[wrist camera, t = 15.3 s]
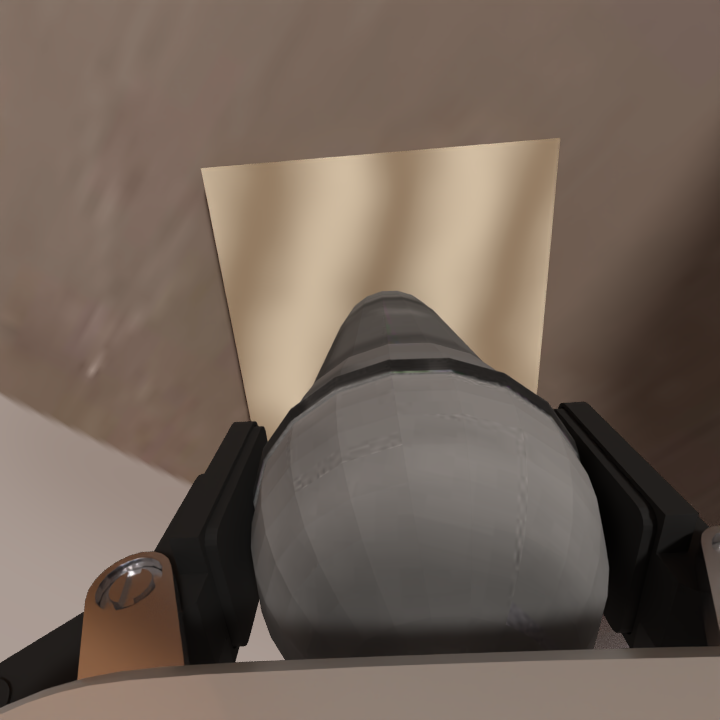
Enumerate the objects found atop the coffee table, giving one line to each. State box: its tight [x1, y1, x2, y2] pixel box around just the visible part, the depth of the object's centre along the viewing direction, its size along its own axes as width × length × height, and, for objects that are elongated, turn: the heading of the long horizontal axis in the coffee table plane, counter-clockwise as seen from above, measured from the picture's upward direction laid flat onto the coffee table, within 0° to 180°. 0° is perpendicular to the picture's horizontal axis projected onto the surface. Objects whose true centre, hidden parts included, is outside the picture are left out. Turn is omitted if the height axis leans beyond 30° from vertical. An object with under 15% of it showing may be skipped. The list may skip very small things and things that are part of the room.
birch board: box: [201, 138, 560, 441], centre depth 23 cm, size 16×16×1 cm
